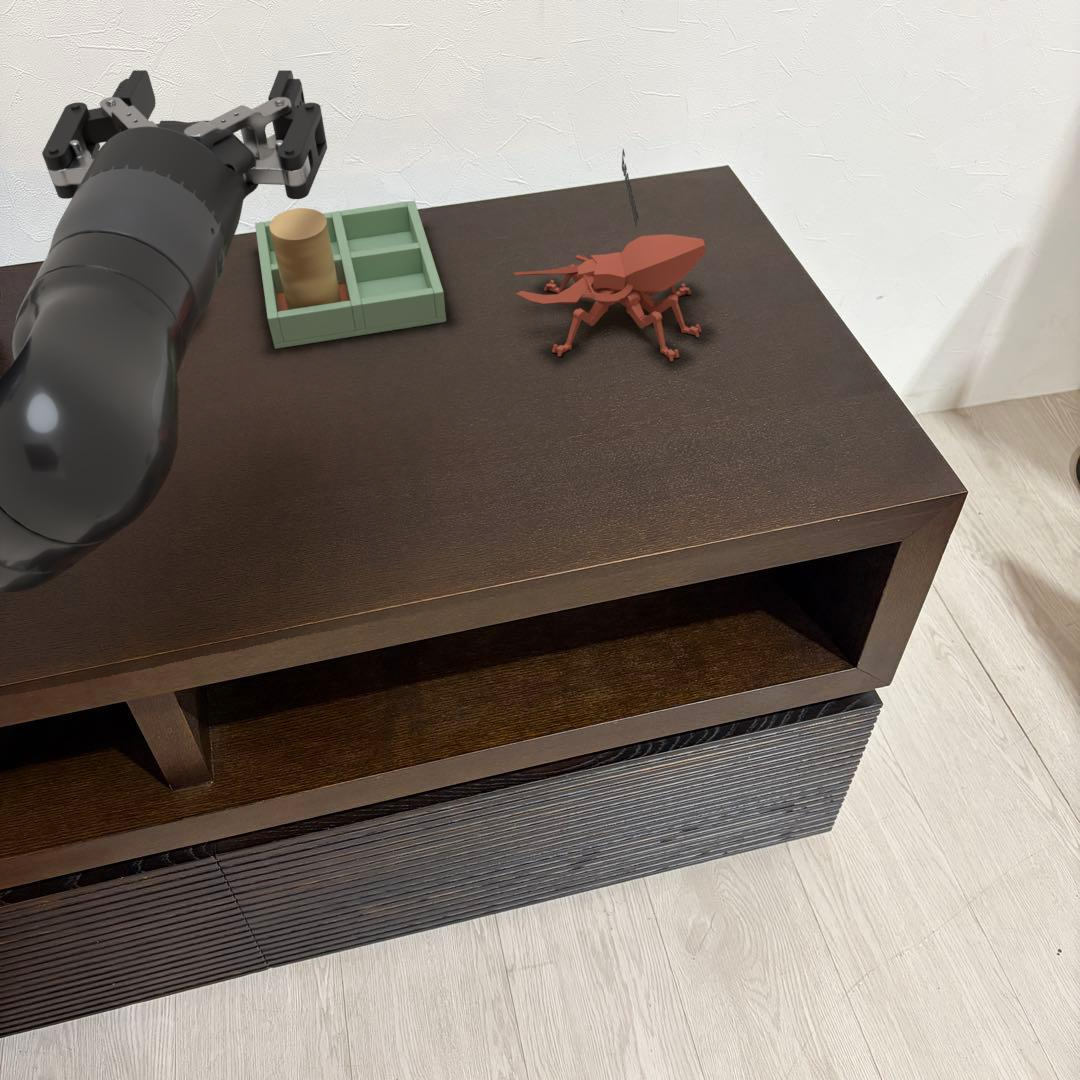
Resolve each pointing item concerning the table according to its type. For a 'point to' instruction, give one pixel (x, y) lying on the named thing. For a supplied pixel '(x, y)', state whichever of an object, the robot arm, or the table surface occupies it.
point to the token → (304, 258)
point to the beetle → (627, 281)
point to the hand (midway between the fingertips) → (217, 85)
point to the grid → (361, 278)
